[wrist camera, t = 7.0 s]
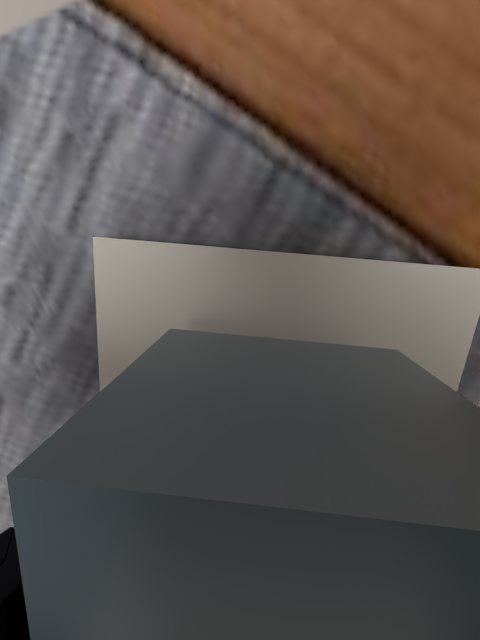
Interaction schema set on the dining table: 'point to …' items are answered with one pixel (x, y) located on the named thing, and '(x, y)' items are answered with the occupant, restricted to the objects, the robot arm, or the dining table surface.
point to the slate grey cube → (256, 499)
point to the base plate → (281, 301)
